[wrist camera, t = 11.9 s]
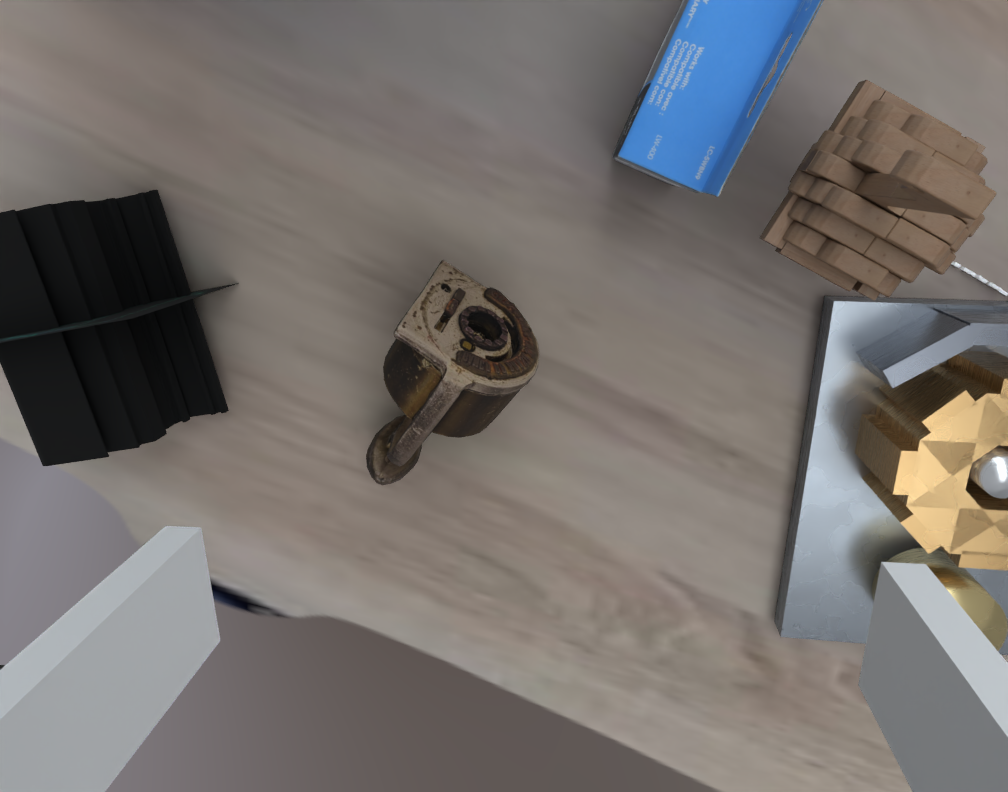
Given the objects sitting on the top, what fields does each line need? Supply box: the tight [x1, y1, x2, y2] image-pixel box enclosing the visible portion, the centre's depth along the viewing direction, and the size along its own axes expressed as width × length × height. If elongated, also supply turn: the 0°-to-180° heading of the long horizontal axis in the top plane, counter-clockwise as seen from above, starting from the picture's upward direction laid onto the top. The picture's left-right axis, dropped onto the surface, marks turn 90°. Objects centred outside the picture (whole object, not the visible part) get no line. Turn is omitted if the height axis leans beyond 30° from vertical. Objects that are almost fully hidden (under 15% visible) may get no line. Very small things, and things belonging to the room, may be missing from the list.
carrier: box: [775, 296, 1008, 655], centre depth 36 cm, size 20×14×6 cm
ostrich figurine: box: [760, 80, 1008, 300], centre depth 27 cm, size 17×7×18 cm, turn 63°
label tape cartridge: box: [612, 0, 823, 197], centre depth 28 cm, size 9×4×12 cm, turn 157°
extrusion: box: [0, 190, 238, 466], centre depth 37 cm, size 12×12×10 cm
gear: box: [855, 351, 1008, 571], centre depth 34 cm, size 9×9×5 cm
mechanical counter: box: [366, 260, 539, 485], centre depth 35 cm, size 7×13×10 cm, turn 161°
